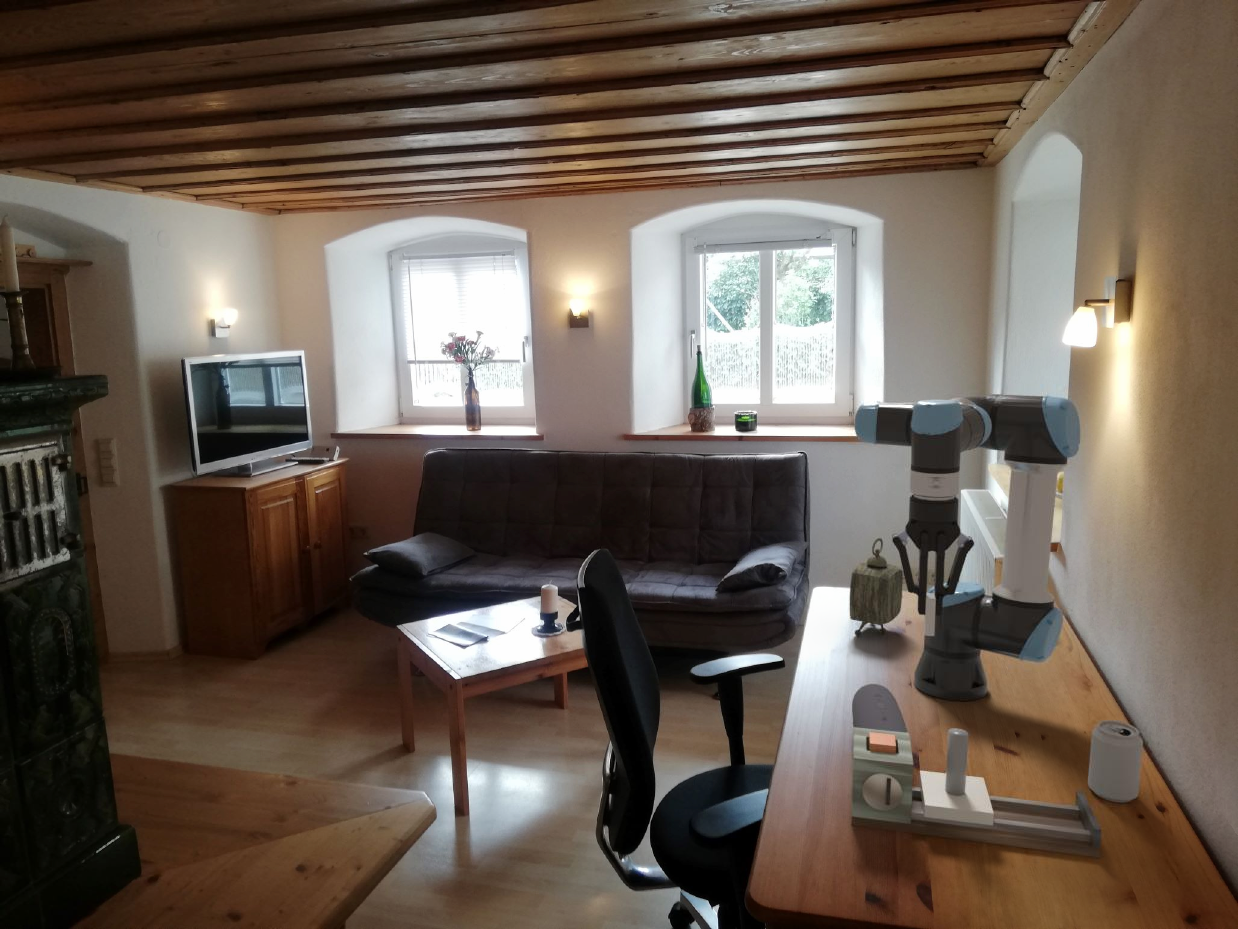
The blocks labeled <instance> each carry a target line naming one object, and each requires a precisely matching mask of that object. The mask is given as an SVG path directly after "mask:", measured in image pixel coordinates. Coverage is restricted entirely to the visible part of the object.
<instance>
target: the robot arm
mask: <svg viewBox="0 0 1238 929" xmlns="http://www.w3.org/2000/svg"><path fill="white" fill-rule="evenodd" d="M854 432H855V435H856V437H857V438H858V440H859V441H861V442H863V443H868V444H873V445H883V446H884V445H886V446H899V447H910V448H911V449H910V451H911V452H910V453H911V454H910V471H909V472H910V475H909V477H910V478H909V492H910V493H911V496H909V508H908V521H907V524H906V525H905V529H904V530H902V531H901V532H899V533H893V534H892V535H891V538H892V539H891V540H892V543H893V545H894V546H895V547H896V549H897V551H898V553H899V558H900V563H901V567H902V573H903V576H904V580H905V584H906V588H907V591H908V593H910V594H915V595H916V596H917V612H918V615H921V616H922V615H923V616H924V617H923V633H924V640H923V641H924V642H923V651H922V652H921V656H920V658H919V660H918V663H917V666H916V668H915V671H914V673H913V674H914V675H913V684H914V686H915V687H916V689H918V690H919V691H921V692H922V693H924V694H926V695H929V696H932V697H935V698H938V699H943V700H949V701H957V702H965V701H975V700H979V699H981V698H983V697H985V696H986V695H987V693H988V679H987V675H986V672H985V668H984V665H983V661H982V658H981V651H985V652H990V653H993V654H998V655H1002V656H1005V657H1009V658H1013V659H1019V661H1021V662H1022V661H1027V662H1032V663H1044V662H1045V661H1046V660H1049V658H1050V657H1051V656H1052V654H1053V653H1054V651H1055V648H1056V647H1057V644H1058V643H1059V638H1060V637H1061V633H1062V629H1063V623H1064V622H1063V621H1064V617H1063V616H1064V614H1063V611H1062V610H1061V609H1059V608H1058V607H1054V605H1055V597H1054V595H1053V594H1052V592H1050V591H1049V589H1048V581H1049V580H1048V578H1049V570H1050V557H1051V550H1052V549H1051V547H1052V537H1053V524H1054V516H1055V515H1054V514H1055V507H1056V506H1055V504H1056V496H1057V495H1056V493H1057V484H1058V483H1057V482H1058V474H1059V473H1060V471H1061V470H1063V469H1064V468H1065V467H1067V465H1068V458H1069V459H1070V458H1073V457H1075V456H1077V454H1078V451H1079V448H1080V446H1079V445H1080V443H1081V423H1080V418H1079V413H1078V411H1077V407H1076V406H1075V404H1074V403H1073V402H1072V401H1071V400H1069V399H1068V398H1065V397H1058V396H1051V395H1050V396H1049V395H1023V394H1021V395H1020V394H1019V395H1018V394H998V393H997V394H995V393H994V394H993V393H992V394H981V395H973V396H966V397H955V398H951V399H924V400H923V399H922V400H919V401H917V402H882V401H865V402H863V403H861V405H859V407H858V408H857V410H856V413H855V418H854ZM976 448H980V449H985V450H992V451H999V452H1000V451H1001V452H1004V455H1003V456H1004V457H1003V462H1005V464H1006V465H1007V466H1008V467H1009V468H1010V478H1009V479H1010V480H1009V491H1008V503H1007V512H1006V514H1007V515H1006V523H1005V525H1006V526H1005V534H1004V535H1005V539H1004V546H1003V547H1004V548H1003V549H1004V550H1003V559H1002V570H1001V571H1002V572H1001V582H1000V584H998V585H997V586H996V587H994V588H993V589H992V594H991V595H988V594H986V590H985V587H984V586H983V585H982V584H980V583H979V584H978V583H975V582H966V581H960V577H961V575H962V571H963V568H964V566H965V562H966V558H967V555H968V553H969V552H970V551H971V550H972V549H973V547H974V546H975V541H974V539H973V537H972V536H970V535H969V536H968V535H966V534H964V533H963V532H961V528H960V526H959V524H958V522H959V502H960V501H959V499H958V498H957V495H958V494H959V492H960V491H959V490H960V467H961V453H963V452H966V451H971V450H975V449H976ZM908 537H909V539H910V540H911V542H912V543H913V544H914V546H915V547H916V548H917V549H918V551H919V552H918V554H919V555H918V576H917V577H918V578H917V580H918V582H917V584H916V583H915V580H914V577H913V573H912V568H911V563H910V559H909V555H908V550H907V547H906V546H907V545H908ZM956 540H957V542H956ZM954 542H956V544H957V546H958V547H957V550H956V553H955V557H954V559H953V562H952V566H951V568H950V572H949V575H948V577H947V582H945V558H946V551H948V550H949V549H950V547H951V546H952V545H953V544H954ZM930 552H935V553H934V554H935V557H934V558H935V559H934V560H935V562H934V564H935V565H934V585H933V586H932V587H930V588H929V589H928V569H929V568H928V566H929V565H928V564H929V553H930Z"/></svg>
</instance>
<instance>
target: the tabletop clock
mask: <svg viewBox="0 0 1238 929" xmlns="http://www.w3.org/2000/svg"><path fill="white" fill-rule="evenodd" d="M878 542H880V548H876V549H875V547H876V544H877V543H878ZM883 546H884V542H883V539H882V538H881V537H877V538H876V539H874V541H873V543H872V548H871V552H872V555H871V556H870V557H868V559H867V560H865V561H863V562H861V563H860V564H858V565H857V566H855V568H854V569H853V571H852V572H851V577H850V588H849V619H850V620H852V621H856V622H861V624H860V626H859V628H858V629H855V630H854V635H855V636H857V637H859V636H861V635H862V629H863V628H864V627H865V626H866V625H867V624H871V625H877V626H880V629H879V632H880V634H882V635H885V634H886V633H887V629H886V628H884V625H885V624H889V623H890V622H892V621H893V620H894V619H896V618H897V617H898V615H899V614H900V613H901V610H902V603H903V602H902V601H903V600H902V599H903V584H904V583H903V580H904V579H903V576H904V573H903V569H901V568H899V567H898V566H897V565H895V564H889V563H888V562H887V560H886V558H885V557H884V556H881V555H880V553H881V552H882V551H883V550H882V549H883Z"/></svg>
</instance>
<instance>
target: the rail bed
mask: <svg viewBox="0 0 1238 929" xmlns="http://www.w3.org/2000/svg"><path fill="white" fill-rule="evenodd" d="M852 730H853V733H852V734H853V735H852V761H851V762H852V764H851V766H852V767H851V789H850V790H851V791H850V793H851V794H850V796H851V797H850V799H851V800H850V802H851V805H850V806H851V808H850V811H851V813H850V814H851V816H850V818H851V823H850V825H851V826H858V827H866V828H873V829H881V830H887V831H895V832H902V833H904V832H905V833H910V834H916V835H917V834H918V835H925V836H934V837H939V838H940V837H941V838H942V837H943V838H947V839H948V838H949V839H957V840H963V841H972V842H978V843H987V844H994V845H1002V846H1009V847H1016V848H1023V849H1024V848H1025V849H1032V850H1039V851H1047V852H1054V853H1062V854H1070V855H1077V856H1083V857H1084V856H1086V857H1093V858H1100V857H1101V856H1100V855H1101V854H1100V853H1101V844H1102V843H1101V842H1102V834H1103V832H1102V827H1101V825H1100V823H1099V821H1098V820H1097V818H1096V815H1095V813H1094V811H1093V809H1092V807H1091V805H1090V803H1089V801H1088V799H1087V797H1086V795H1085V793H1084V791H1077V790H1076V791H1075V793H1076V794H1075V801H1074V802H1075V803H1074V805H1072V804H1071V805H1070V804H1063V803H1054V802H1047V801H1046V802H1045V801H1038V800H1029V799H1023V798H1021V799H1020V798H1014V797H1013V798H1012V797H1005V796H1004V797H1003V796H996V795H995V796H993V795H989V799H990V802H991V806H992V809H993V812H994V818H993V825H985V824H977V823H970V822H962V821H954V820H946V819H938V818H930V817H924V810H923V804H922V797H921V790H920V786H919V787H918V786H913V785H914V784H913V782H914V781H913V780H914V759H913V757H914V756H913V751H912V746H911V745H912V744H911V737H910V736H911V735H910V732H907V733H904V732H895V731H885V730H876V729H866V728H856V727H853V729H852ZM869 732H872V733H882V734H891V735H895V742H896V754H893V753H884V752H875V751H869Z"/></svg>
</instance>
